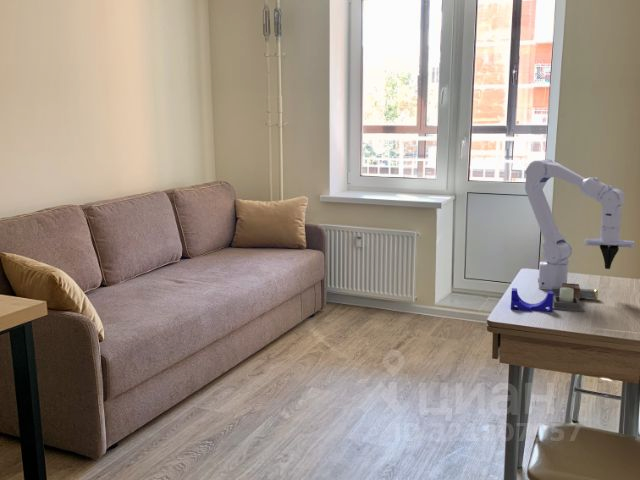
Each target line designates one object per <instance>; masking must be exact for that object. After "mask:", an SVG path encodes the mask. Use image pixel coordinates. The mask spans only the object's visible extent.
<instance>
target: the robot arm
mask: <svg viewBox="0 0 640 480" xmlns="http://www.w3.org/2000/svg"><path fill="white" fill-rule="evenodd" d="M524 173H525V176H526V177H525V183H524V184H525V185H524V190H525V193H526V196H527V198H528V201H529V203H530V206H531V209H532V211H533V214H534V216H535V220H536V221H537V224H538V227H539V229H540V232H541V234H542V237H543V240H542V247H543V257H544V260H545V261H539V268H538V277H537V283H538V284H537V285H538V289H539V290H547V291H552V287H562V283H568V276H569V273H568V272H569V258H570V257H571V255H572V253H573V247H572V246H571V244H570V243H569V242H568V241H567V240H566V238H565V236H564V235H563V234H562V233H561V232H560V231H559V228H558V226H557V223H556V221H555V218H554V216H553V212H552V210H551V208H550V206H549V202H548V200H547V197H546V195H545V192H544V190H543V189H544V187H545V185H546V183H547V182H548V181H549V180H551V178H559V179H561V180H563V181H566V182H568V183H570V184H572V185H574V186H576V187H579V189H580V192H581V194H583V195H586V196H588V197H589V198H591V199H593V200H595V201H597V202H599V203H600V204H601V206H602V212H601V221H600V222H601V223H600V232H599V233H600V236H599V238H585V239H584V246H586V247H587V246H588V247H589V246H592V247H593V246H595V247H599V248H600V249H599V250H600V252H601V254H602V257H603V262H604V269H605V270H611V267H612V263H613V261H614V258H615V257H616V255H617V254H618V252H619V248H630V249H634V248H635V241H634V240H627V239H626V240H625V239H624V240H623V239H620V236H621V227H622V226H621V225H622V212H623V211H622V210H623V204H624V203H625V200H626V195H625V192H623V190H621V189H620V188H619V187H618V188H617V187H614V188H613V185H611V184H606V183H603V182H601V181H599V180H600V179H599V178H598V177H596V176H595V177H587V178H585V177H583V176H582V175H581V174H578V173H577V172H574V171H573V170H571V169H569V168H568V167H566V166H564V165H563V164H560V163H559V162H556V161H553V160H552V159H548V158H547V159H546V158H545V159H542V160H533V161H531V162H530V163H529V164H528V166H527V167H526V169H525V171H524Z"/></svg>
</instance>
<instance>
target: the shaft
mask: <svg viewBox="0 0 640 480" xmlns="http://www.w3.org/2000/svg"><path fill="white" fill-rule="evenodd" d="M560 288H562V287H552V290H551V291H553V296H560ZM598 297H599V291H598V289H593V288H591V289H590V288H589V289H588V288H580V299H593V300H597V299H599V298H598Z"/></svg>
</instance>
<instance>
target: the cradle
mask: <svg viewBox="0 0 640 480" xmlns="http://www.w3.org/2000/svg"><path fill="white" fill-rule="evenodd" d="M553 310H556V311H567V312H568V311H569V312H581V313H584V312H585V307H584V304H583V301H581V300H578V298H576V297H573V303H568V302H559V296H553V307H552V311H553Z"/></svg>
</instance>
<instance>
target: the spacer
mask: <svg viewBox="0 0 640 480" xmlns="http://www.w3.org/2000/svg"><path fill="white" fill-rule="evenodd" d="M573 294H574V289H572V288H568V287H562V288H560V296H559V302H568V303H573Z"/></svg>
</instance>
